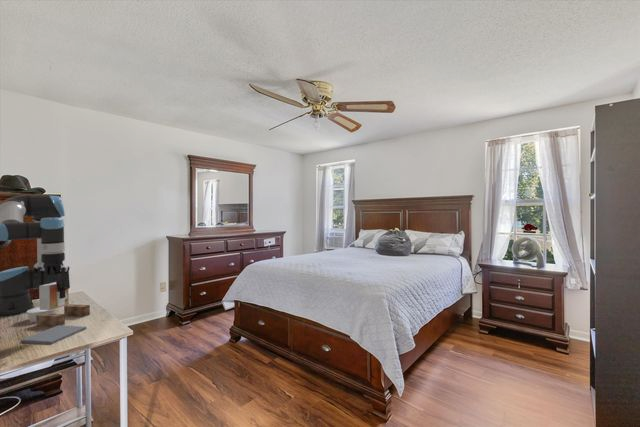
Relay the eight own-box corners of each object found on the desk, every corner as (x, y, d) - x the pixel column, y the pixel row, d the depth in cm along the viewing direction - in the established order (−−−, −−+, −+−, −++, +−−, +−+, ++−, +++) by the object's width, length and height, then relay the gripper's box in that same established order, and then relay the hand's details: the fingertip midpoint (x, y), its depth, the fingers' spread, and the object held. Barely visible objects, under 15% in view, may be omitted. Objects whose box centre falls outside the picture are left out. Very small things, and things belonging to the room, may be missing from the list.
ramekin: (59, 317, 148) (59, 307, 148) (29, 325, 139) (29, 314, 139) (54, 313, 155) (53, 303, 155) (24, 320, 146) (24, 309, 146)
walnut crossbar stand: (36, 325, 138) (36, 315, 138) (70, 313, 154) (69, 304, 154) (58, 326, 136) (58, 316, 136) (89, 314, 152) (89, 305, 152)
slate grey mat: (21, 342, 121) (21, 339, 121) (58, 327, 136) (58, 325, 136) (52, 344, 119) (52, 341, 119) (86, 328, 134) (86, 326, 134)
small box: (49, 310, 123) (48, 286, 122) (39, 310, 124) (38, 285, 124) (69, 304, 130) (68, 281, 130) (59, 303, 132) (58, 280, 131)
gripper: (25, 253, 124) (26, 307, 125) (62, 254, 122) (64, 309, 122) (44, 251, 132) (45, 301, 132) (80, 251, 129) (81, 303, 129)
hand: (54, 305), depth 127 cm, fingers closed on small box, 6 cm apart
